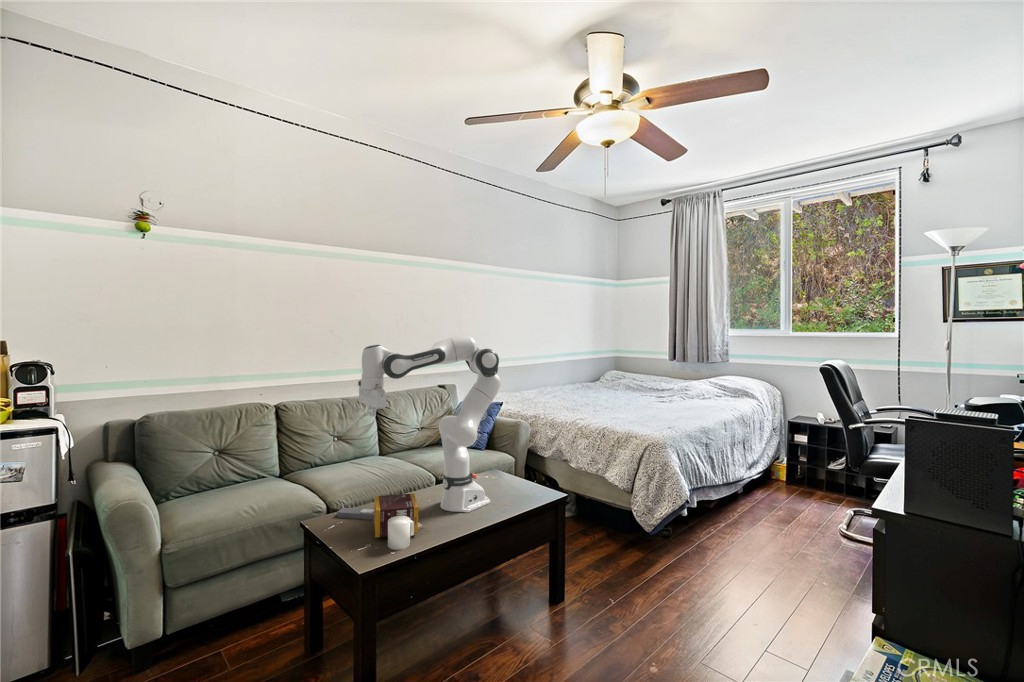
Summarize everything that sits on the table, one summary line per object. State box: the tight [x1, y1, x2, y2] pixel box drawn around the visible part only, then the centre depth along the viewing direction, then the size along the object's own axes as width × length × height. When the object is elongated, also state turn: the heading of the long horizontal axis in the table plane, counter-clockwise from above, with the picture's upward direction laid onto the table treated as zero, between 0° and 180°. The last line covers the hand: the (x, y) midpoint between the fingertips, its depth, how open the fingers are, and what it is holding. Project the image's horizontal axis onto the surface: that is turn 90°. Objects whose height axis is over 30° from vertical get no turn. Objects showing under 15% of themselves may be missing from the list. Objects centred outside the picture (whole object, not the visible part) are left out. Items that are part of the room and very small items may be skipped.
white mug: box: [387, 516, 415, 551], centre depth 173 cm, size 9×8×9 cm
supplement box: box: [373, 493, 419, 538], centre depth 184 cm, size 10×15×16 cm
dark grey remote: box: [336, 507, 374, 521], centre depth 197 cm, size 16×5×3 cm, turn 83°
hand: (372, 416), depth 200 cm, fingers closed
